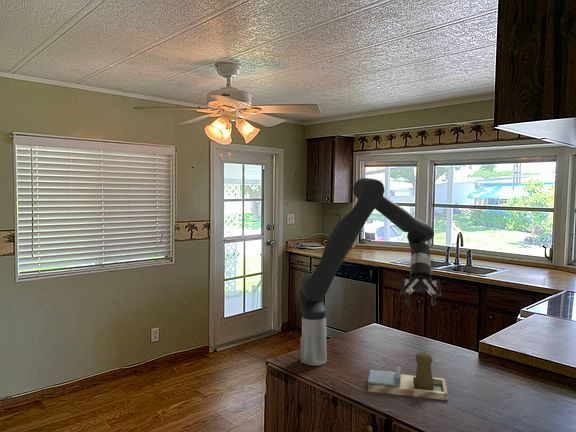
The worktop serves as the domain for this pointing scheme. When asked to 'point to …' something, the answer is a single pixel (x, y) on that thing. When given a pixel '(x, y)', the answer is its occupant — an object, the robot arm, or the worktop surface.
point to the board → (413, 388)
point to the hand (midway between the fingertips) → (420, 304)
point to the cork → (424, 372)
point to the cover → (385, 377)
